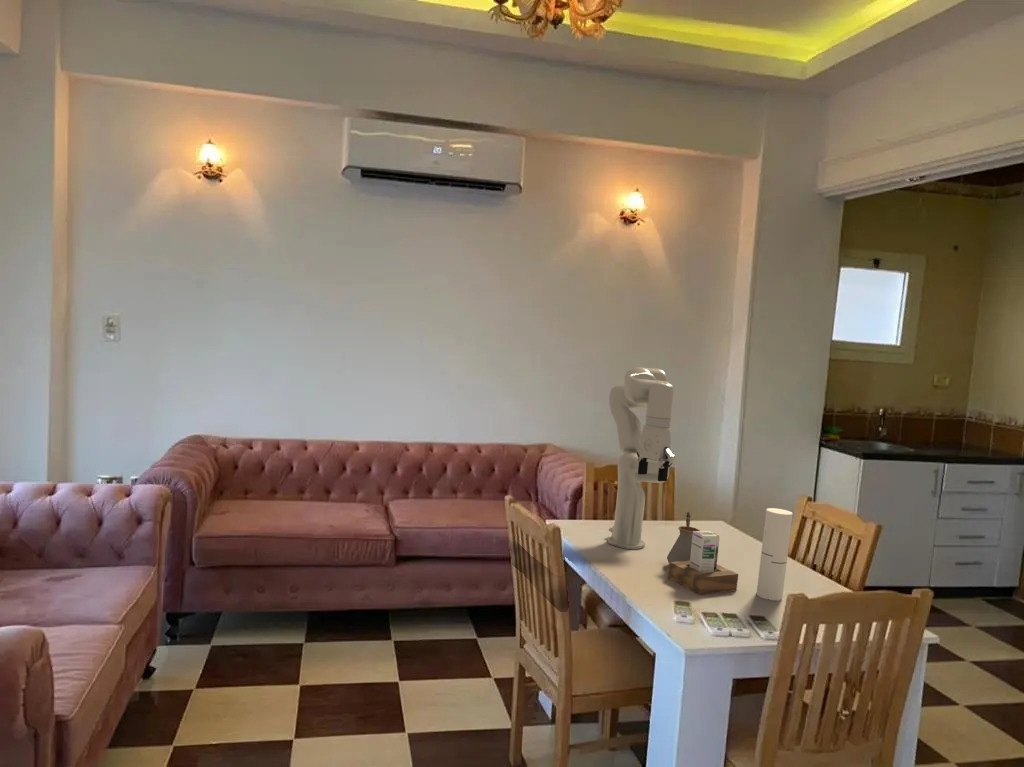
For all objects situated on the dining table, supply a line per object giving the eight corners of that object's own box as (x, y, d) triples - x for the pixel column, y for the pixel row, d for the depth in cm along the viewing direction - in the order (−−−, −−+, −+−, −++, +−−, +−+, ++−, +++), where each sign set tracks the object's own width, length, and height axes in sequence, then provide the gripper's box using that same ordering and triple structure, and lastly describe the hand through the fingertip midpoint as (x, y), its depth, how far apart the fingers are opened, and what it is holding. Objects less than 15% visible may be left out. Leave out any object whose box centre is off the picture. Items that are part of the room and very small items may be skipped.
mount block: (667, 578, 227) (669, 562, 227) (703, 574, 234) (705, 559, 233) (699, 594, 215) (701, 577, 214) (736, 590, 221) (738, 574, 221)
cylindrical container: (761, 589, 224) (771, 506, 223) (785, 596, 220) (796, 512, 218) (752, 594, 219) (762, 510, 217) (777, 602, 214) (787, 515, 213)
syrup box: (698, 584, 221) (703, 535, 220) (687, 577, 226) (692, 530, 225) (715, 584, 223) (720, 535, 221) (704, 577, 228) (709, 530, 227)
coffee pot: (703, 577, 231) (709, 529, 230) (665, 571, 234) (670, 523, 233) (701, 557, 252) (706, 513, 251) (666, 552, 254) (671, 508, 253)
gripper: (630, 418, 239) (625, 471, 240) (666, 427, 223) (660, 484, 225) (649, 418, 242) (644, 471, 243) (686, 427, 227) (679, 483, 228)
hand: (652, 477), depth 234 cm, fingers open, 9 cm apart
